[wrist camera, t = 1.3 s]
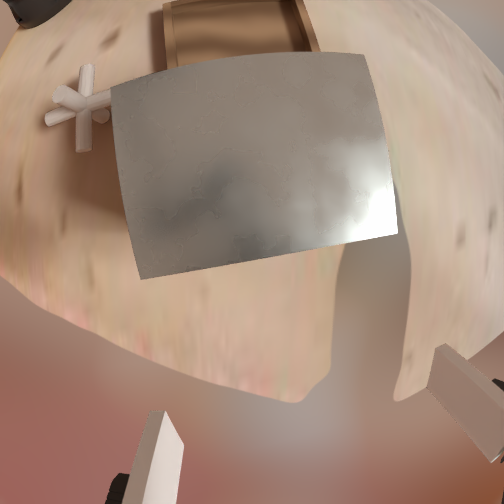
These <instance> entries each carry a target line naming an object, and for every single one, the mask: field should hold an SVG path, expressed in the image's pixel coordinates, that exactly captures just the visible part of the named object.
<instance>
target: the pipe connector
mask: <svg viewBox="0 0 504 504" xmlns="http://www.w3.org/2000/svg"><path fill="white" fill-rule="evenodd" d="M94 75H95V65H93V64H85V65H83V66H81V68H80V72H79V81H78V92H76V91H75V90H73V89H71V88H69V87H68V86H66V85H60V86H59V87H57V88H56V90H55V91H54V93H53V96H52V100H53V102H55V103H57V104H59V105H61V107H58V108H56V109H54V110H51V111H49V112H47V113H46V115H45V123H46V125H47V126H49V127H50V126H53V125H56V124H58V123H61V122H63V121H66V120H68V119H71V118H74V117H76V152H77V153H84V152H88V151H91V150H92V120H94V121H96V122H99V123H101V124H103V123H106V122H107V121H108V120H109V118H110V112H109V111H108V110H107V109H105V108H104V107H107V106H111V93H110V89H108V90H105V91H102V92H99V93H96V94H93V87H94Z"/></svg>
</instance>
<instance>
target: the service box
mask: <svg viewBox="0 0 504 504" xmlns="http://www.w3.org/2000/svg"><path fill="white" fill-rule="evenodd" d="M110 93H111V111H112V124H113V135H114V145H115V153H116V161H117V168H118V175H119V182H120V188H121V194H122V200H123V205H124V210H125V215H126V220H127V225H128V230H129V235H130V239H131V243H132V248H133V252H134V256H135V260H136V264H137V268H138V271H139V275H140V279H141V280H143V279H149V278H154V277H160V276H166V275H172V274H178V273H183V272H189V271H195V270H201V269H206V268H212V267H218V266H223V265H229V264H234V263H240V262H246V261H251V260H257V259H262V258H268V257H273V256H279V255H284V254H290V253H295V252H300V251H306V250H311V249H317V248H322V247H327V246H333V245H338V244H343V243H349V242H354V241H359V240H364V239H370V238H375V237H380V236H385V235H391V234H396V233H397V222H396V209H395V198H394V189H393V181H392V173H391V166H390V160H389V154H388V148H387V142H386V137H385V132H384V127H383V123H382V118H381V114H380V109H379V105H378V101H377V97H376V93H375V90H374V86H373V82H372V79H371V76H370V72H369V69H368V66H367V63H366V60H365V57H364V55H361V54H350V53H335V52H279V53H263V54H252V55H243V56H235V57H228V58H221V59H215V60H209V61H204V62H198V63H193V64H189V65H184V66H180V67H176V68H172V69H168V70H164V71H160V72H156V73H153V74H149V75H146V76H143V77H140V78H136V79H133V80H130V81H127V82H124V83H122V84H119V85H116V86H113V87H111V88H110Z"/></svg>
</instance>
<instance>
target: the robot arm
mask: <svg viewBox="0 0 504 504" xmlns="http://www.w3.org/2000/svg"><path fill="white" fill-rule="evenodd" d="M3 1H5V2H6V3H7V4H8V5H9V7H10V9H11V11H12V13H13V16H14V18H15V20H16V22H17V23H18V24H19V25H21V26H22V27H24V28H32V27H35V26H38V25H40V24H42V23H43V22H45V21H47V20H48V19H50V18H51V17H52V16H54V15H55V14H56V13H58V12H59V11H60V10H61V9H63V8H64V7H65V6H66V5H67V4H68V3H69V2H70V1H71V0H3ZM426 388H427V389H428V390H429V391H430V392H431V393H432V395H433V396H434V397H435V398H436V399H437V400H438V401H439V402H440V404H441V405H442V406H443V407H444V408H445V409H446V410H447V412H448V413H449V414H450V415H451V416H452V417H453V418H454V420H455V421H456V422H457V423H458V424H459V425H460V426H461V428H462V429H463V430H464V431H465V432H466V434H467V435H468V436H469V437H470V438H471V440H472V441H473V442H474V443H475V444H476V446H477V447H478V448H479V449H480V450H481V452H482V453H483V454H484V455H485V456H486V458H487V459H488V460H489V461H490V463H491V462H493V461H494V460H495V459H496V458H497V457H499V455H501V454H502V453H503V451H504V382H503V381H500V380H497V379H493V380H492V381H491V380H490V379H489V378H487V377H486V376H485V375H484V374H483V373H482V372H480V371H479V370H478V369H477V368H476V367H474V366H473V365H472V364H471V363H470V362H468V361H467V360H466V359H465V358H464V357H462V356H461V355H460V354H459V353H457V352H456V351H455V350H454V349H452V348H451V347H450V346H449V345H447V344H446V343H445V344H443V345H441V346H439V347H437V348H435V353H434V358H433V362H432V367H431V371H430V376H429V380H428V384H427V387H426ZM183 450H184V444H183V443H182V441H181V439H180V437H179V435H178V434H177V432H176V430H175V428H174V426H173V425H172V423H171V421H170V419H169V417H168V415H167V413H166V411H150V413H149V415H148V418H147V422H146V425H145V428H144V431H143V434H142V437H141V440H140V444H139V447H138V450H137V453H136V456H135V459H134V463H133V466H132V469H131V473H130V474H122V473H119V474H118V475H117V476H116V477H115V478H114V479H113V481H112V483H111V486H110V489H109V493H108V495H107V500H106V502H105V504H176V499H177V491H178V484H179V477H180V470H181V463H182V456H183ZM503 461H504V456H503V457H502V459H501V463H502V462H503ZM502 504H504V492H503V498H502Z"/></svg>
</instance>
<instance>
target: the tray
mask: <svg viewBox="0 0 504 504" xmlns="http://www.w3.org/2000/svg"><path fill="white" fill-rule="evenodd" d="M163 22H164V37H165V49H166V61H167V70H168V69H172V68H176V67H180V66H184V65H189V64H193V63H198V62H204V61H209V60H215V59H221V58H228V57H235V56H243V55H252V54H263V53H279V52H321V51H320V48H319V45H318V42H317V39H316V36H315V33H314V30H313V27H312V24H311V21H310V18H309V15H308V13H307V10H306V7H305V5H304V2H303V0H177V1H173V2H168V3H164V4H163Z"/></svg>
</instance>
